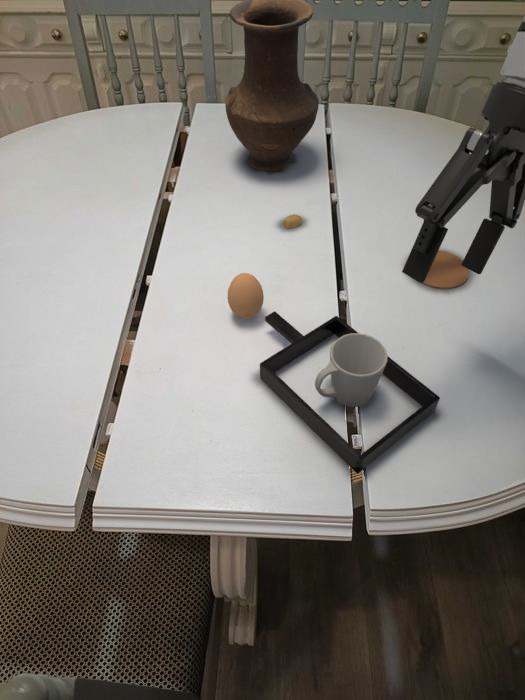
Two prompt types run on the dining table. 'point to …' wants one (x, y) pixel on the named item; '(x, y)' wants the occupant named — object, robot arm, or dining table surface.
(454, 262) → the coaster
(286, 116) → the vase
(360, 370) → the cup
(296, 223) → the potato
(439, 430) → the dining table surface
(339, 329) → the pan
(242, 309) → the egg
